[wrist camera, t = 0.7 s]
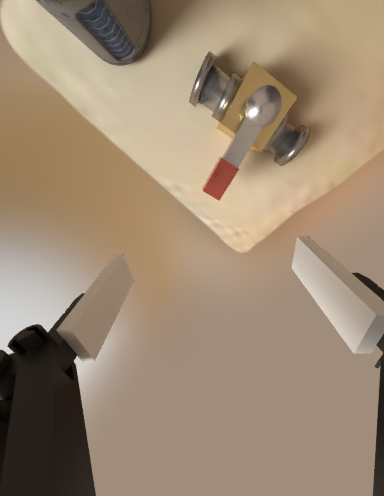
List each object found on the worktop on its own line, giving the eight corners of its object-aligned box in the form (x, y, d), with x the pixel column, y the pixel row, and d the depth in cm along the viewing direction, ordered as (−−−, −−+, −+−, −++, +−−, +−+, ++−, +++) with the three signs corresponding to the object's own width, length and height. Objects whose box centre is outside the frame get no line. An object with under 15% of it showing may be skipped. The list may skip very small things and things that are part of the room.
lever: (257, 82, 21) (262, 76, 20) (282, 102, 22) (289, 98, 21) (199, 186, 28) (199, 189, 26) (220, 198, 29) (222, 202, 27)
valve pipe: (188, 109, 30) (185, 98, 23) (210, 58, 26) (215, 26, 19) (272, 166, 33) (291, 171, 26) (300, 127, 30) (330, 121, 23)
